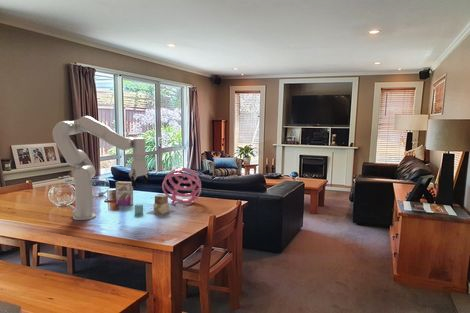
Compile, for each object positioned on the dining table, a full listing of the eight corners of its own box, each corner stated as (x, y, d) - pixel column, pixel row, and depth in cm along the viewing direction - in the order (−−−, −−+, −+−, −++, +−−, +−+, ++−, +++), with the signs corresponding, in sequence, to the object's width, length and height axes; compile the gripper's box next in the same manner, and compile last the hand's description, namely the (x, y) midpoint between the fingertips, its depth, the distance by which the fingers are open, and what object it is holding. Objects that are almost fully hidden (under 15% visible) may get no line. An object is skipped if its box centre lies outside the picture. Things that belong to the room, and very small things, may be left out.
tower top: (154, 203, 209) (154, 196, 208) (160, 201, 214) (160, 194, 214) (162, 204, 206) (162, 196, 206) (167, 202, 212) (167, 195, 211)
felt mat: (145, 213, 207) (145, 213, 207) (158, 208, 220) (158, 208, 220) (163, 216, 202) (163, 216, 202) (176, 211, 215) (176, 210, 215)
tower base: (153, 212, 209) (153, 203, 208) (160, 210, 215) (160, 201, 215) (162, 214, 206) (162, 204, 206) (168, 211, 213) (168, 202, 212)
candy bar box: (115, 205, 228) (115, 182, 227) (118, 203, 233) (118, 181, 232) (130, 205, 227) (130, 182, 226) (133, 204, 232) (133, 181, 231)
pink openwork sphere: (189, 182, 212) (195, 156, 233) (151, 190, 218) (160, 164, 239) (204, 210, 229) (208, 183, 250) (168, 216, 235) (175, 190, 256)
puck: (132, 215, 204) (132, 205, 204) (138, 213, 209) (138, 204, 208) (139, 216, 202) (139, 206, 202) (144, 214, 207) (144, 204, 206)
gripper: (143, 156, 208) (144, 182, 210) (124, 158, 192) (124, 186, 194) (153, 156, 205) (153, 183, 207) (134, 159, 189) (134, 187, 191)
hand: (139, 185), depth 200 cm, fingers open, 9 cm apart
